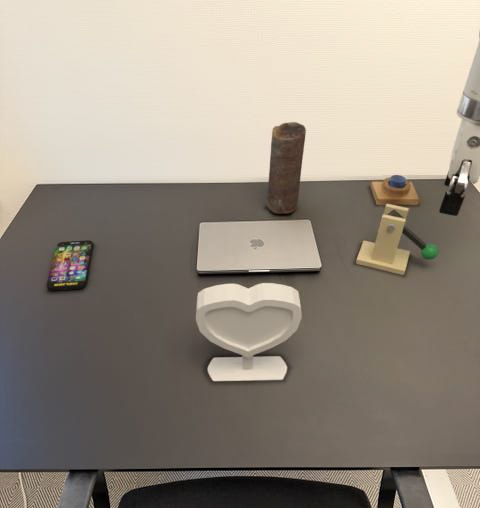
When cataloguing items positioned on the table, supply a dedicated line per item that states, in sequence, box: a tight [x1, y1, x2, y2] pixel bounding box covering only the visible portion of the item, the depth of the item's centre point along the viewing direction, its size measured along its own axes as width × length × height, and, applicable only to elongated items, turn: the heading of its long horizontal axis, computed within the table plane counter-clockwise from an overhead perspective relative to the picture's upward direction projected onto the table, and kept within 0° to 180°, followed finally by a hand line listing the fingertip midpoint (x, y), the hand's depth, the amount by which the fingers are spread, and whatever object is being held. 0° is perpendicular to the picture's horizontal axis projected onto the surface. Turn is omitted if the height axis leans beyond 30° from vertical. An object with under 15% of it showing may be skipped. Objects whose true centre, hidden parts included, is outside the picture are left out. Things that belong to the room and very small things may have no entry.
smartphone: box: [46, 240, 94, 292], centre depth 98 cm, size 8×1×15 cm
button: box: [389, 174, 407, 188], centre depth 114 cm, size 4×4×2 cm
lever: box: [387, 209, 439, 261], centre depth 94 cm, size 13×3×3 cm
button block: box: [370, 176, 420, 206], centre depth 116 cm, size 10×8×4 cm
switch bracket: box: [355, 204, 411, 276], centre depth 96 cm, size 10×7×12 cm
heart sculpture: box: [195, 282, 303, 382], centre depth 73 cm, size 16×5×18 cm, turn 91°
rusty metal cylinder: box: [266, 121, 307, 215], centre depth 106 cm, size 8×7×20 cm
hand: (450, 199), depth 87 cm, fingers open, 9 cm apart
